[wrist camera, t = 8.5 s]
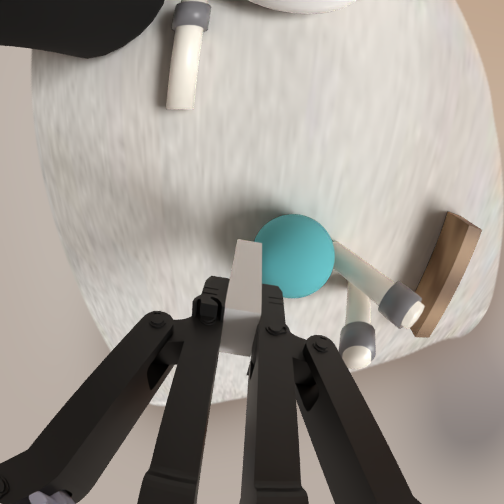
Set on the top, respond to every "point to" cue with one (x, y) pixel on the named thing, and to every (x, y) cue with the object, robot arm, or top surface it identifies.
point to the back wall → (445, 271)
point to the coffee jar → (75, 24)
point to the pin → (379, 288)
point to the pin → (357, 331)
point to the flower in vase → (304, 5)
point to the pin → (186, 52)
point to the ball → (295, 255)
